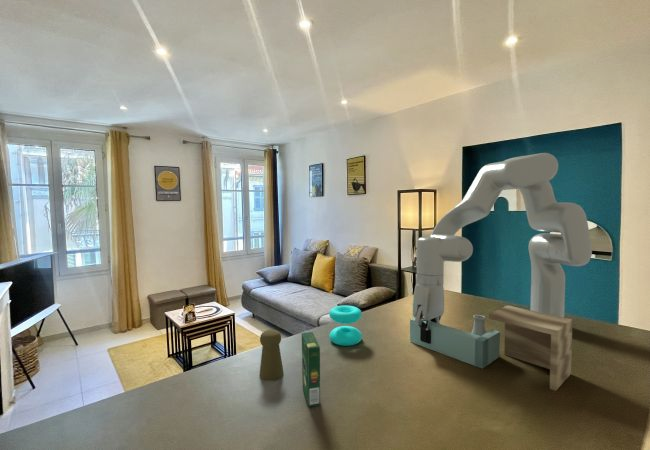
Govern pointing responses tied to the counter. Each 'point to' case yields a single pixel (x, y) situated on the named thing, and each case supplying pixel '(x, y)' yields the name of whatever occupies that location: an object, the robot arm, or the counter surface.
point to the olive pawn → (271, 356)
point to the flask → (479, 325)
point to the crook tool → (460, 343)
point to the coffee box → (311, 368)
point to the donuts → (345, 333)
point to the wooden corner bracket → (538, 340)
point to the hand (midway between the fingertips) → (429, 339)
